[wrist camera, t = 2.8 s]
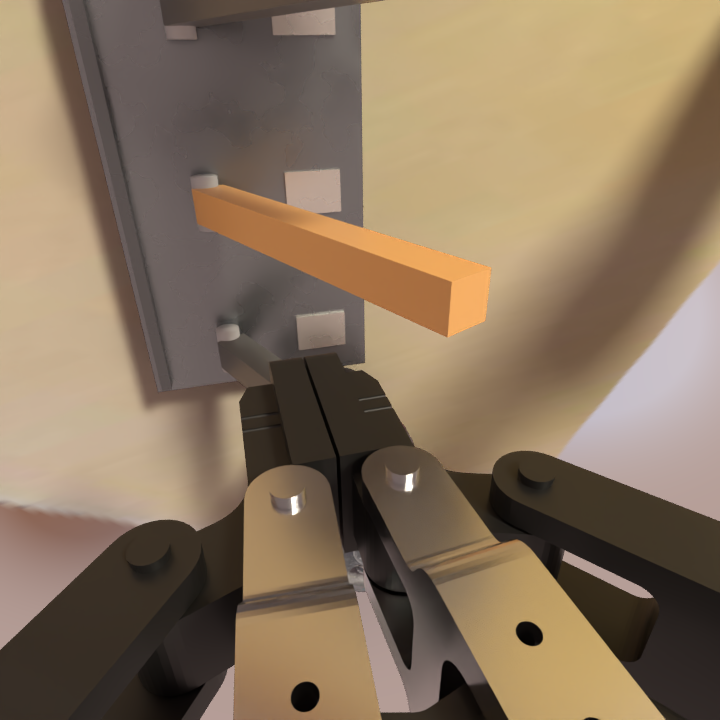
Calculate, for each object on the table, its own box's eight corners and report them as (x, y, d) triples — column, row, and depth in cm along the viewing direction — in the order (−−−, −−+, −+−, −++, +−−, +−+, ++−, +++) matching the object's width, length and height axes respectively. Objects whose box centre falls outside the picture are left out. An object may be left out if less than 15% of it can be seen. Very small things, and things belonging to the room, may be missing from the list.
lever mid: (213, 172, 29) (492, 252, 16) (220, 223, 30) (483, 334, 17) (181, 176, 28) (452, 265, 15) (191, 229, 29) (446, 351, 16)
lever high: (235, 320, 33) (467, 477, 20) (240, 359, 34) (461, 528, 22) (208, 329, 32) (435, 499, 19) (215, 368, 33) (431, 551, 21)
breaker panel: (345, -56, 28) (363, -72, 24) (354, 343, 39) (367, 368, 36) (59, -65, 25) (37, -85, 22) (161, 369, 37) (157, 398, 33)
